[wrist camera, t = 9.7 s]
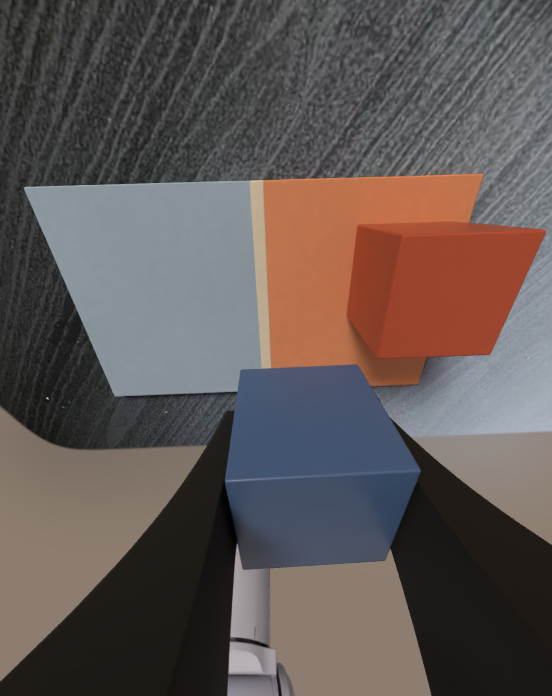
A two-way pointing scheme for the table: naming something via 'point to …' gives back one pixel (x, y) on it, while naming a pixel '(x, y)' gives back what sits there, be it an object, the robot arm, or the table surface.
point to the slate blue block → (314, 468)
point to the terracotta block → (436, 285)
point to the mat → (229, 272)
